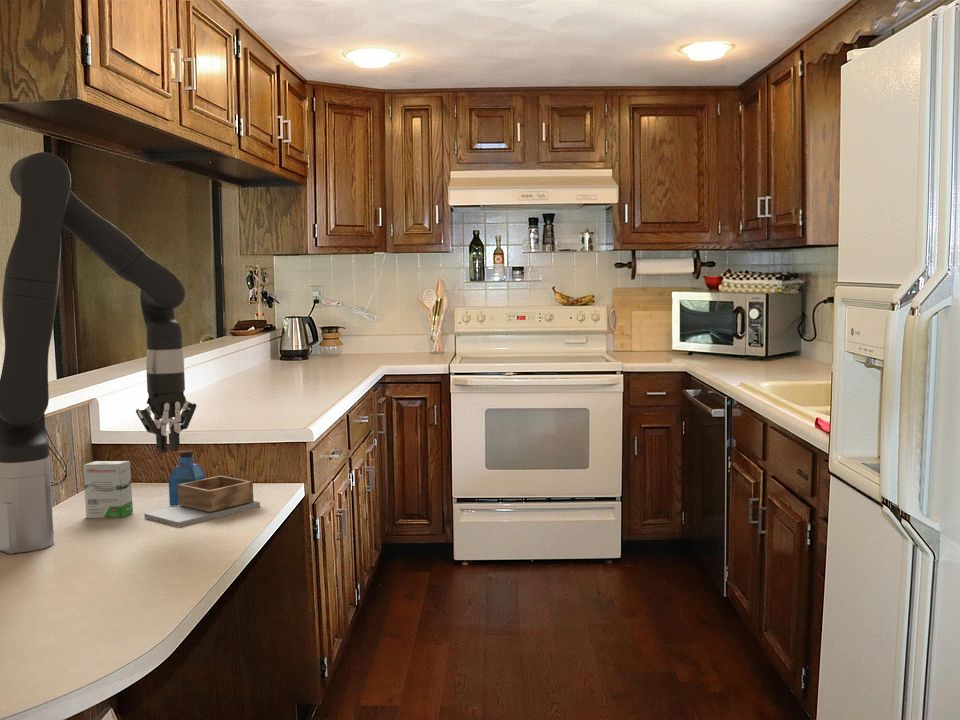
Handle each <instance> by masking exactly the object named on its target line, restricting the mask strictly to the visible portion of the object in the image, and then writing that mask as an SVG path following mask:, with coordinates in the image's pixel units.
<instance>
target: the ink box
mask: <svg viewBox="0 0 960 720" xmlns="http://www.w3.org/2000/svg"><path fill="white" fill-rule="evenodd" d="M82 466H83V470H82V471H83V482H84V483H83V484H84V485H83V486H84V500H85V501H84V502H85V503H84V504H85V518H88V519H96V518H98V519H102V518H103V519H104V518H105V519H106V518H107V519H110V518H112V519H115V518H116V519H121V518H122V519H123V518H125V517H128V516H129V515H131V514H132V513H134V511H133V510H134V509H133V508H134V507H133V491H132V490H133V489H132V474H131V461H130V460H114V461H113V460H110V461H108V460H104V461H101V460H95V461H92V462H88V463H85V464H84V465H82Z"/></svg>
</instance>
